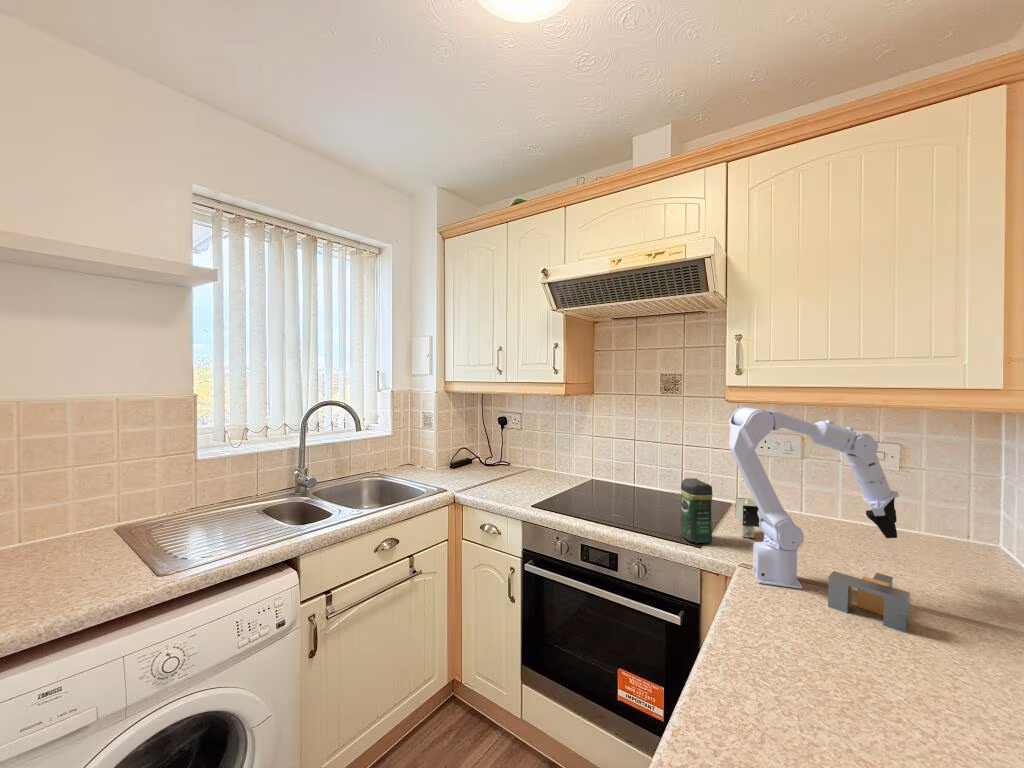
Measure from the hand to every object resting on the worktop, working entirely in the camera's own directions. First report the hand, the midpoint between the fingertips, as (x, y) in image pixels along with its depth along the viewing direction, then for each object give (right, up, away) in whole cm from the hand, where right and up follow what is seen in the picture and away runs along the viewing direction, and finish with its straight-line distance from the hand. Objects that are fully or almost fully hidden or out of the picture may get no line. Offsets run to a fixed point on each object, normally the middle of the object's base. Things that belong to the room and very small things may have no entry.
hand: (891, 529), depth 108 cm
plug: (-9, -14, -6) cm, 17 cm away
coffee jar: (-36, -13, +29) cm, 48 cm away
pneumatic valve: (-18, -13, +32) cm, 39 cm away
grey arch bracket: (-17, -14, -13) cm, 26 cm away
